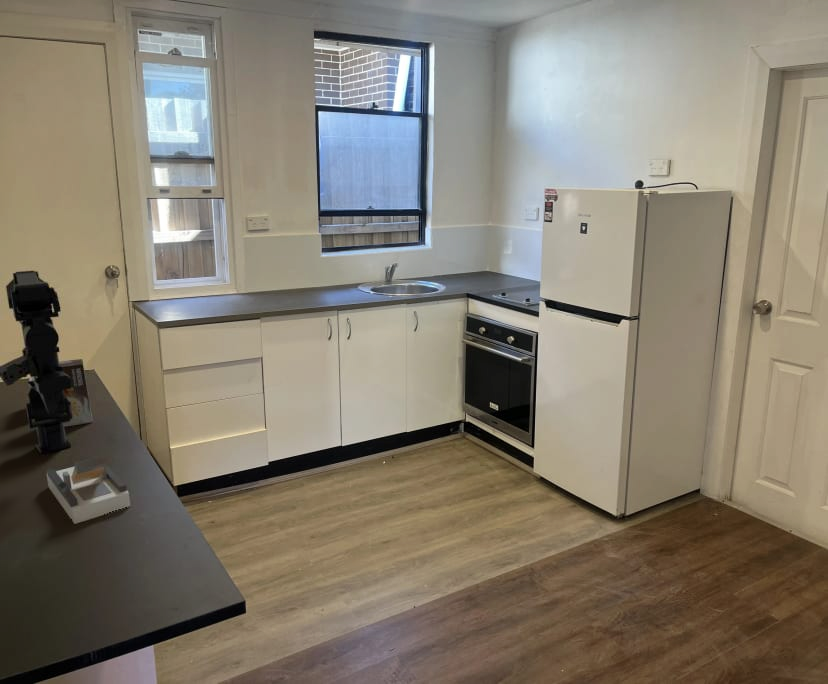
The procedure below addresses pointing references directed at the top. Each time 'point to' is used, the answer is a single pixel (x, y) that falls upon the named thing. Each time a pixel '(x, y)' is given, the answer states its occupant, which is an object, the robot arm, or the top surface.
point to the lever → (88, 469)
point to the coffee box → (77, 392)
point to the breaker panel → (88, 494)
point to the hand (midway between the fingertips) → (51, 413)
